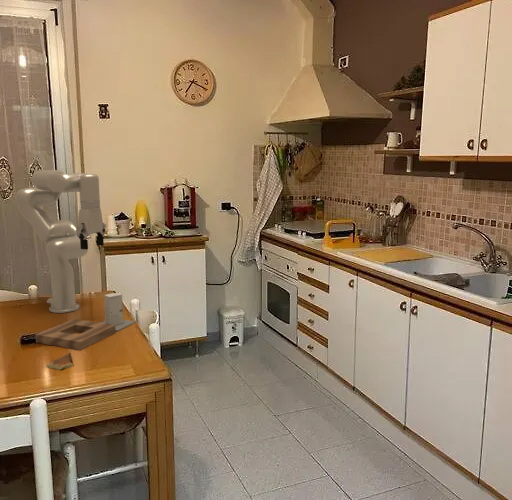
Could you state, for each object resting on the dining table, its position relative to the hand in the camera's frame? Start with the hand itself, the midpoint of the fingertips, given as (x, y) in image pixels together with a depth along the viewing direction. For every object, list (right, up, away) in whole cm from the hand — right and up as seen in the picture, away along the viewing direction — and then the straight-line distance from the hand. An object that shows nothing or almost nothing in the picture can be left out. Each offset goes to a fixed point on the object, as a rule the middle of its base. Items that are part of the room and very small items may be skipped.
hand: (92, 247), depth 211 cm
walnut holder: (0, -34, -17) cm, 38 cm away
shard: (+2, -39, -41) cm, 57 cm away
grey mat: (+10, -31, -3) cm, 33 cm away
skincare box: (+10, -31, -2) cm, 32 cm away
